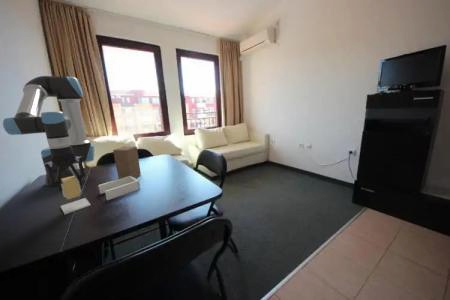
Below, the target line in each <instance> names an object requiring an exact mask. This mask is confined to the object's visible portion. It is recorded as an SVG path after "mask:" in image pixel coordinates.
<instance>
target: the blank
mask: <svg viewBox="0 0 450 300" xmlns="http://www.w3.org/2000/svg"><path fill="white" fill-rule="evenodd" d="M75 176H76V175H75ZM75 176H71V177H66V178H62V179H61V181H62V183H63V185H64V189H65V193H66V197H65V198H66V200H71V199H74V198H77V197H78V198H79V197H81V194H82V193H80V190H79V186H78V182H77V177H75Z"/></svg>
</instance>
